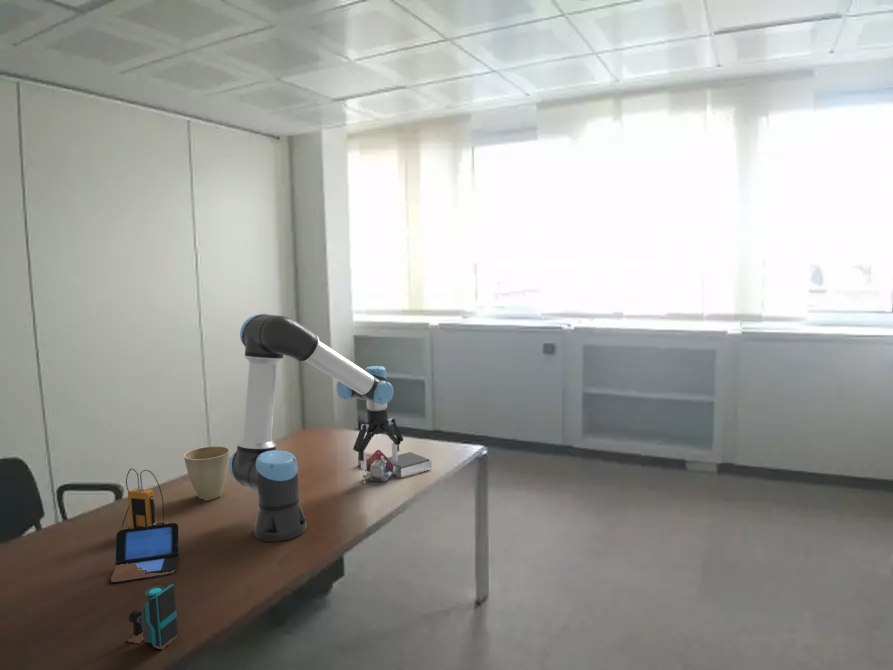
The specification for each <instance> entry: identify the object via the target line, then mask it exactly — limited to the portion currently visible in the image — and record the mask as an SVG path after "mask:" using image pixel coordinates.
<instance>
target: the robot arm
mask: <svg viewBox="0 0 893 670" xmlns="http://www.w3.org/2000/svg"><path fill="white" fill-rule="evenodd" d="M239 338H240V341H241V343H242V345H243V346H244V357H245V359H246V360H247V361H248V375H247V385H246V386H247V389H246V396H245V397H246V398H245V399H246V400H245V412H244V423H243V437H242V439H241V440H240V441H239V442H238V443H237V446H236V447H237V448H236V450H235V452H234V453H232V455H231V457H230V459H229V471H230V475H231V476H232V477H233V479H234V480H235V481H236V482H237V483H239V484H240V485H241V486H243V487H247V488H249V489H251V490H252V491H255V492H257V495H258V498H257V499H258V512H257V516H256V519H255V524H254V528H253V529H254V531H253V532H254V537H255V538H256V539H257V540H260V541H263V542H271V543H272V542H275V543H276V542H283V541H288V540H292V539H294V538H295V539H296V538H298V537H300V536H301V535H303V534H304V533H305V532H306V531H307V526H308V525H307V519H306V516H305V515H304V512H303V509H302V507H301V504H300V493H299V492H300V490H299V477H298V476H299V473H298V472H299V467H298V462H297V457H296V456H295V454H294V453H291V452H289V451H286V450H280V449H277V444H276V443H275V441H274V440H273V438H272V437H273V425H274V413H275V412H274V411H275V401H276V389H277V388H276V386H277V376H278V367H279V366H278V364H279V363H280V362H281V361H282V360H284V356H287V357H290V358H293V359H294V360H297V361H298V362H300V363H305V362H306V363H308V364H309V365H311V366H312V367H314V368H316V369H318V370H320V371H321V372H322V373H325V374H326V375H327V376H330V378H332V379H334V380H335V381H337V382H336V392H337V395H338V397H339V398H340V399H341V400H351V399H357V400H362V401H366V408H367V409H366V417H367V424H364V423H360V424H359V432H358V435H357V437H356V438H355V439H356V440H355V443H354V445H353V448H352V449H353V451H354V452H357V453H358V455H357V457H358V456H359V460H360V461H361V466H360V469H362V470H363V471H365V470H367V468H366V453H367V452H366V451H365V450H366V448H367V447H368V445H369V444H370V442H371V440H372V438H373V437H375V435H379V434H384V433H385V435H386V436H387V437H388V438H389V439H390V440H391V441H392V442H393V443H391V457H392V460H393V461H396V462H397V461H398V455H399V453H398V452H400V445H401V444H402V442H403V441H404V438H403V436H402V434H401V433H402V432H401V431H400V430H399V428H398V426H397V424H396V418H392V417H389V409H388V403H390V401H391V400H392V398H393V397H394V394H395V393H394V392H395V391H394V387H393V384H391V383H390V382H388V381H387V379H388V377H387V371H386V370H387V369H386V368H385V366H381V365H373V366H372V365H371V366H368V367H365V369H363V368H362V367H361V366H359V365H357V364H356V363H354V362H352V361H351V360H350V359H348V358H346V357H345V356H344V355H342V354H340V353H339V352H337V351H336V350H334V349H333V348H331V347H329V346H328V345H327V344H325V343H323V342H322V341H320V338H319V336H318V335H317V334H316V333H314V332H313V331H311V330H310V329H309V328H308V327H306V326H304V325H303V324H301V323H299V322H297V320H294V319H293V318H291V317H289V316H286V315H278V314H277V315H274V314H266V313H260V314H254V315H253V316H252V315H251V316H250V317H249V318H247V319H246V320H245V321H244V322H243V324H242V325H241V328H240V332H239ZM388 426H390V428H391V430H392V432H393V433H392V432H391V430H390V428H388Z"/></svg>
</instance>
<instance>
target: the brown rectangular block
mask: <svg viewBox="0 0 893 670" xmlns="http://www.w3.org/2000/svg"><path fill="white" fill-rule="evenodd" d="M373 453H374V452H373ZM373 453H372V452H366V461H367V460H368V459H369V458H370V457H371V456H372V455H373ZM374 458H376V456H374ZM371 460H372V459H371ZM374 462H375V461H374ZM374 462H372V463H370V464H371V465H372V464H373V463H374ZM357 464H358V465H357V466H358V467H361V461H360V460H359V456H358V455H357Z"/></svg>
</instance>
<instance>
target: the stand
mask: <svg viewBox="0 0 893 670" xmlns="http://www.w3.org/2000/svg"><path fill="white" fill-rule="evenodd" d="M387 458H388V459H389V460H390V461H391V462H392V464H393V465H394V468H393V473H392V475H393V474H395V475H397V476H396V477H398V476H399V477H398V478H400V477H401V478H400V479H403V478H402V477H404V478H407V477H410V475H411V476H414V475H418V474H421V473H425V472H427V470H428V471H431V469H432V467H433V465H432V460H430V459H429V458H426V457H425V456H424V457H423V456H421V455H419V454H416V453H413V452H411V451H409V452H405V453H401V454H398V461H397V462H396V461H393V460H392V456H389V457H387ZM385 466H386V464H385ZM424 471H425V472H424ZM420 472H421V473H420ZM395 475H394V476H395ZM406 476H407V477H406Z"/></svg>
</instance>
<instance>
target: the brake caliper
mask: <svg viewBox="0 0 893 670" xmlns="http://www.w3.org/2000/svg"><path fill="white" fill-rule="evenodd" d="M374 456H376V458H374ZM388 458H389V457H387V456H386V455H385V453H383V452H382V451H381V450H380V449H377V450H376V451H374V452H373V455H372V456H371V457H370V458H369V459H368V460H367V461H366V468H367V470H364V472H363V474H362V478H364V480H363V482H362V483H363V484H367V482H370V481H371V482H388V481H389V479H390V477H391V476H392V475H393V474H392V473H393V468H394V465H393V464H392V462H391V461H390V460H389V459H388ZM371 459H372V460H371ZM374 461H375V462H374ZM372 462H374V463H373V464H372V465H371V464H370V463H372ZM385 464H386V466H385ZM367 480H368V481H367ZM387 480H388V481H387ZM366 481H367V482H366Z"/></svg>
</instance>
